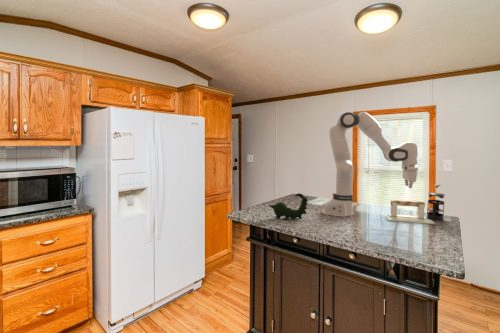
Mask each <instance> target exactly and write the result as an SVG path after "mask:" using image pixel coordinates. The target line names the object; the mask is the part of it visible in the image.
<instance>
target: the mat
mask: <svg viewBox="0 0 500 333" xmlns="http://www.w3.org/2000/svg"><path fill="white" fill-rule="evenodd" d="M386 219H387V220H388V221H389V222H397V223H398V222H399V223H400V222H401V223H412V224H427V225H436V223H435V221H434V220H430V219H427V218H426V219H415V218H401V217H389V216H386Z"/></svg>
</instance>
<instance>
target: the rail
mask: <svg viewBox="0 0 500 333" xmlns="http://www.w3.org/2000/svg"><path fill="white" fill-rule="evenodd" d="M392 202H394V203H397V206H401V207H402V206H403V207H415V208H417V207H419V204H425V205H426V202H425V201H418V200H417V201H416V200H401V199H400V200H399V199H390V206H391V205H392Z"/></svg>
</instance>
